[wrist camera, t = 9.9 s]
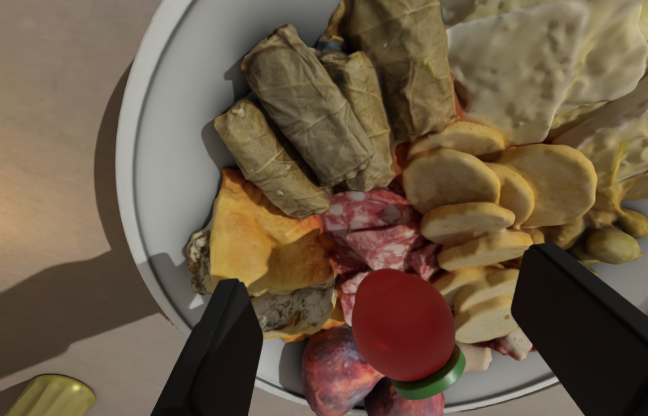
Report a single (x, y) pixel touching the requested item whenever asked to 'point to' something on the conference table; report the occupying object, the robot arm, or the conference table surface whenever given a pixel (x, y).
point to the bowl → (384, 172)
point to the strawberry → (407, 333)
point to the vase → (53, 398)
